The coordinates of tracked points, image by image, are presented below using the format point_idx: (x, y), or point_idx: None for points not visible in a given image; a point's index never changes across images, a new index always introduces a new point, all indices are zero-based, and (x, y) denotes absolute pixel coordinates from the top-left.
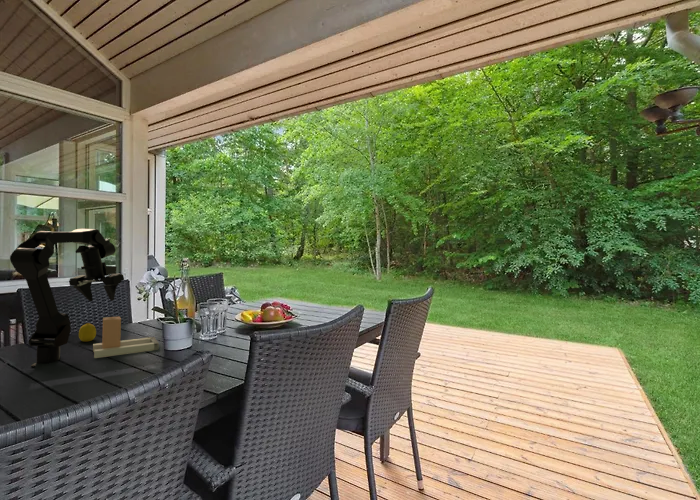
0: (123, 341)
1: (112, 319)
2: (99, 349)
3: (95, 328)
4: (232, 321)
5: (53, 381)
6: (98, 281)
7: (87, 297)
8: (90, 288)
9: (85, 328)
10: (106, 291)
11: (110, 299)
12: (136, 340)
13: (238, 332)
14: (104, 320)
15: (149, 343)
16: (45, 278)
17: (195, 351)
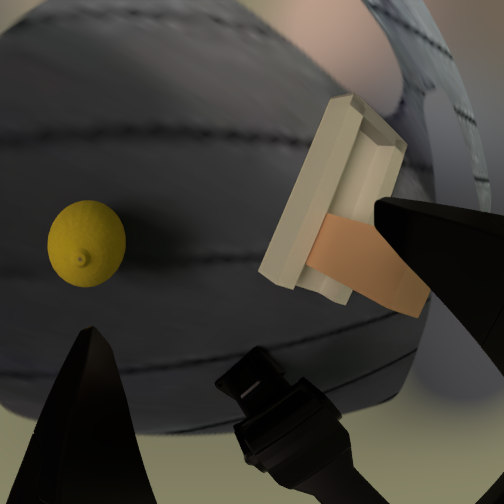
0: (328, 193)
1: (428, 287)
2: (342, 289)
3: (101, 212)
4: None
5: (353, 370)
6: (487, 500)
7: (130, 418)
8: (62, 495)
9: (111, 273)
10: (473, 330)
11: (393, 242)
12: (347, 156)
13: None
14: (418, 316)
15: (395, 160)
16: None
17: (423, 97)
